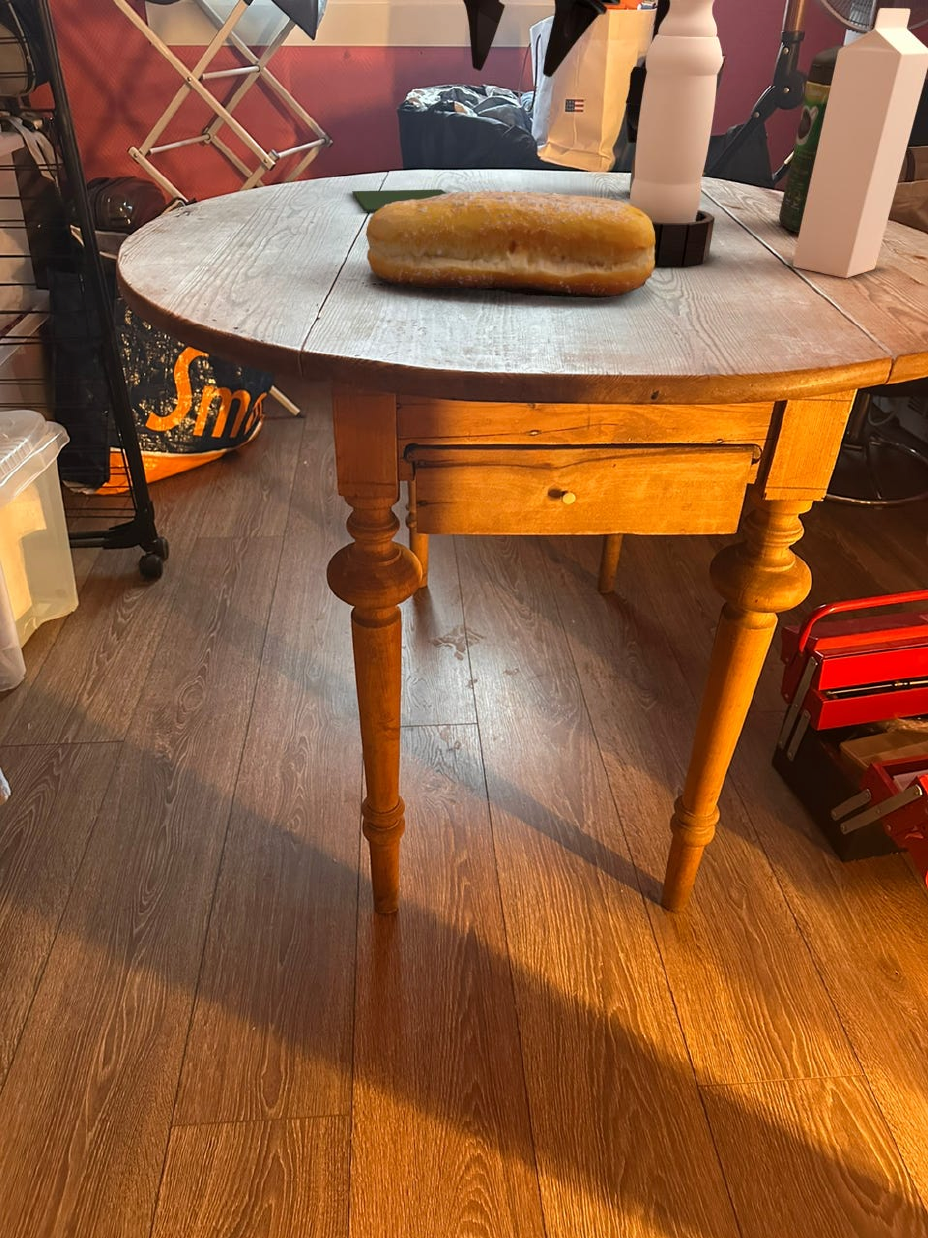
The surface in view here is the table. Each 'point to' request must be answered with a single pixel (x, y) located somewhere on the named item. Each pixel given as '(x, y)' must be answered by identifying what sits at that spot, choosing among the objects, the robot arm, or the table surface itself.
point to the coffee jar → (808, 138)
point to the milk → (862, 147)
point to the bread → (513, 244)
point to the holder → (683, 241)
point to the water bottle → (677, 113)
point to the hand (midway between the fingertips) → (510, 72)
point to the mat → (391, 197)
